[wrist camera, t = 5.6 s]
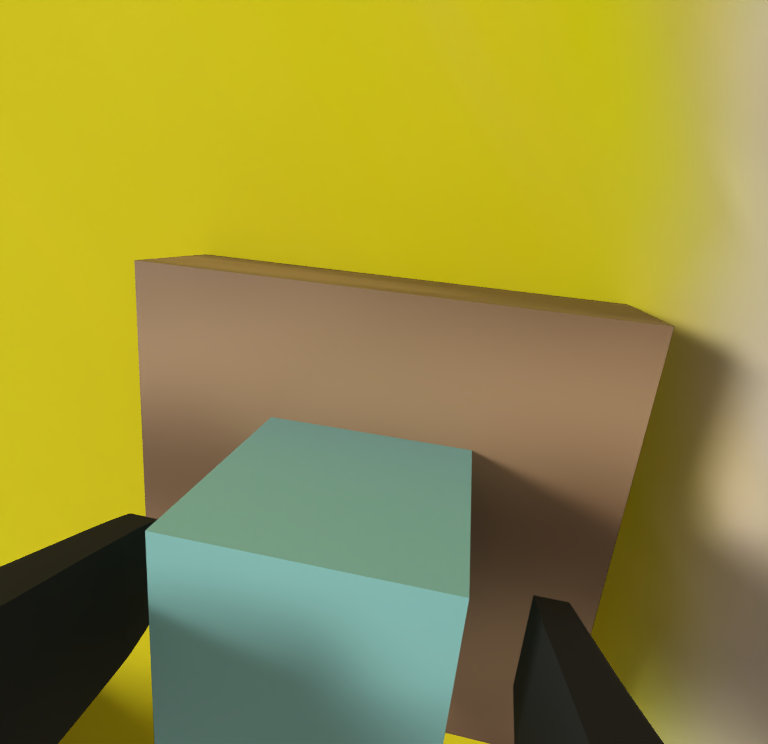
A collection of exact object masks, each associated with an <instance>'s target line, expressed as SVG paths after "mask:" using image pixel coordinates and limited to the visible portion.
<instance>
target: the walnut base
mask: <svg viewBox="0 0 768 744" xmlns="http://www.w3.org/2000/svg"><path fill="white" fill-rule="evenodd" d="M135 281H136V304H137V326H138V349H139V371H140V394H141V416H142V439H143V461H144V484H145V506H146V517H150V518H155V519H159V518H160V517H161V516H162V515H163V514H164V513H165V512H166V511H168V510H169V509H170V508H171V507H172V506H173V505H174V504H175V503H176V502H178V501H179V500H180V499H181V498H182V497H183V496H184V495H185V494H186V493H188V492H189V491H190V490H191V489H192V488H193V487H194V486H195V485H196V484H198V483H199V482H200V481H201V480H202V479H203V478H204V477H205V476H206V475H207V474H209V473H210V472H211V471H212V470H213V469H214V468H215V467H216V466H217V465H219V464H220V463H221V462H222V461H223V460H224V459H225V458H226V457H227V456H229V455H230V454H231V453H232V452H233V451H234V450H235V449H236V448H237V447H239V446H240V445H241V444H242V443H243V442H244V441H245V440H246V439H247V438H249V437H250V436H251V435H252V434H253V433H254V432H255V431H256V430H257V429H259V428H260V427H261V426H262V425H263V424H264V423H265V422H266V421H267V420H268V419H270V418H271V417H274V418H280V419H286V420H292V421H298V422H305V423H311V424H317V425H323V426H329V427H335V428H341V429H347V430H353V431H359V432H365V433H371V434H377V435H383V436H389V437H395V438H401V439H407V440H413V441H419V442H425V443H431V444H437V445H443V446H449V447H455V448H461V449H467V450H472V475H471V532H470V588H469V603H468V608H467V614H466V619H465V625H464V630H463V636H462V641H461V647H460V652H459V658H458V663H457V669H456V675H455V680H454V686H453V691H452V697H451V702H450V708H449V713H448V719H447V724H446V730H445V733H449V734H453V735H458V736H462V737H466V738H470V739H474V740H478V741H482V742H486V743H490V744H514V710H513V684H514V679H515V675H516V670H517V666H518V662H519V657H520V653H521V648H522V644H523V639H524V635H525V630H526V626H527V621H528V617H529V612H530V608H531V603H532V599H533V595H535V596H540V597H545V598H550V599H555V600H560V601H565V602H569V603H570V604H571V606H572V607H573V608H574V610H575V611H576V613H577V614H578V616H579V618H580V619H581V621H582V622H583V624H584V625H585V627H586V629H587V630H588V632H589V633H590V635H591V631H592V628H593V624H594V620H595V617H596V613H597V609H598V606H599V602H600V598H601V594H602V591H603V587H604V583H605V580H606V576H607V572H608V569H609V565H610V561H611V558H612V554H613V550H614V547H615V543H616V539H617V536H618V532H619V528H620V524H621V521H622V517H623V513H624V510H625V506H626V502H627V499H628V495H629V491H630V488H631V484H632V480H633V477H634V473H635V469H636V465H637V462H638V458H639V454H640V451H641V447H642V443H643V440H644V436H645V432H646V429H647V425H648V421H649V418H650V414H651V410H652V406H653V403H654V399H655V395H656V392H657V388H658V384H659V381H660V377H661V373H662V370H663V366H664V362H665V359H666V355H667V351H668V348H669V344H670V340H671V336H672V333H673V329H674V326H672V325H669V324H667V323H665V322H663V321H661V320H659V319H657V318H655V317H653V316H651V315H648V314H646V313H644V312H642V311H640V310H638V309H636V308H634V307H632V306H629V305H627V304H619V303H611V302H602V301H594V300H585V299H577V298H568V297H560V296H552V295H543V294H535V293H526V292H518V291H509V290H501V289H492V288H484V287H476V286H467V285H459V284H450V283H442V282H433V281H425V280H417V279H408V278H400V277H391V276H383V275H374V274H366V273H358V272H349V271H341V270H332V269H324V268H315V267H307V266H299V265H290V264H282V263H273V262H265V261H256V260H248V259H239V258H231V257H223V256H214V255H194V256H182V257H169V258H157V259H145V260H135Z"/></svg>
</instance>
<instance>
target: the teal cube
mask: <svg viewBox="0 0 768 744" xmlns="http://www.w3.org/2000/svg"><path fill="white" fill-rule="evenodd" d="M471 475H472V450H467V449H461V448H455V447H449V446H443V445H437V444H431V443H425V442H419V441H413V440H407V439H401V438H395V437H389V436H383V435H377V434H371V433H365V432H359V431H353V430H347V429H341V428H335V427H329V426H323V425H317V424H311V423H305V422H298V421H292V420H286V419H280V418H274V417H271V418H270V419H268V420H267V421H266V422H265V423H264V424H263V425H262V426H261V427H260V428H259V429H257V430H256V431H255V432H254V433H253V434H252V435H251V436H250V437H249V438H247V439H246V440H245V441H244V442H243V443H242V444H241V445H240V446H239V447H237V448H236V449H235V450H234V451H233V452H232V453H231V454H230V455H229V456H227V457H226V458H225V459H224V460H223V461H222V462H221V463H220V464H219V465H217V466H216V467H215V468H214V469H213V470H212V471H211V472H210V473H209V474H207V475H206V476H205V477H204V478H203V479H202V480H201V481H200V482H199V483H198V484H196V485H195V486H194V487H193V488H192V489H191V490H190V491H189V492H188V493H186V494H185V495H184V496H183V497H182V498H181V499H180V500H179V501H178V502H176V503H175V504H174V505H173V506H172V507H171V508H170V509H169V510H168V511H166V512H165V513H164V514H163V515H162V516H161V517H160V518H159V519H158V520H156V521H155V522H154V523H153V524H152V525H151V526H150V527H149V528H148V529H146V530H145V539H146V562H147V584H148V607H149V630H150V652H151V675H152V697H153V720H154V743H155V744H443V741H444V735H445V730H446V724H447V719H448V713H449V708H450V702H451V697H452V691H453V686H454V680H455V675H456V669H457V663H458V658H459V652H460V647H461V641H462V636H463V630H464V625H465V619H466V614H467V608H468V603H469V588H470V532H471Z"/></svg>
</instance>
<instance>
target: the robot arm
mask: <svg viewBox="0 0 768 744" xmlns="http://www.w3.org/2000/svg"><path fill="white" fill-rule="evenodd" d="M156 520H158V519H155V518H150V517H145V516H140V515H135V514H127V515H124V516H121V517H118V518H116V519H113V520H110V521H108V522H105V523H103V524H100V525H98V526H95V527H93V528H91V529H88V530H86V531H83V532H81V533H79V534H76V535H74V536H72V537H69V538H67V539H65V540H62V541H60V542H58V543H55V544H53V545H51V546H48V547H46V548H44V549H41V550H39V551H36V552H34V553H32V554H29V555H27V556H25V557H22V558H20V559H18V560H15V561H13V562H11V563H8V564H6V565H3V566H1V567H0V744H58V743H59V742H60V741H61V739H62V738H63V737H64V736H65V734H66V733H67V732H68V731H69V729H70V728H71V727H72V726H73V725H74V723H75V722H76V721H77V720H78V718H79V717H80V716H81V715H82V714H83V712H84V711H85V710H86V709H87V707H88V706H89V705H90V704H91V703H92V701H93V700H94V699H95V698H96V696H97V695H98V694H99V693H100V691H101V690H102V689H103V688H104V686H105V685H106V684H107V683H108V681H109V680H110V679H111V678H112V676H113V675H114V674H115V673H116V671H117V670H118V669H119V668H120V666H121V665H122V664H123V663H124V661H125V660H126V659H127V657H128V656H129V655H130V653H131V652H132V650H133V649H134V647H135V646H136V644H137V643H138V641H139V640H140V638H141V637H142V635H143V634H144V632H145V630H146V629H147V627H148V625H149V607H148V584H147V562H146V539H145V530H146V529H148V528H149V527H150V526H151V525H152V524H153V523H154V522H155V521H156ZM513 710H514V744H664V743H663V742H662V740H661V739H660V737H659V736H658V735H657V733H656V732H655V730H654V729H653V728H652V726H651V725H650V723H649V722H648V720H647V719H646V718H645V716H644V715H643V713H642V712H641V710H640V709H639V707H638V706H637V705H636V703H635V702H634V700H633V699H632V697H631V696H630V695H629V693H628V692H627V690H626V689H625V687H624V686H623V684H622V683H621V681H620V680H619V678H618V677H617V675H616V674H615V672H614V671H613V669H612V668H611V666H610V665H609V663H608V661H607V660H606V658H605V657H604V655H603V654H602V652H601V651H600V649H599V648H598V646H597V644H596V643H595V641H594V640H593V638H592V637H591V635H590V633H589V632H588V630H587V629H586V627H585V625H584V624H583V622H582V621H581V619H580V618H579V616H578V614H577V613H576V611H575V610H574V608H573V607H572V606H571V604H570V603H569V602H565V601H560V600H555V599H550V598H545V597H540V596H535V595H533V599H532V603H531V608H530V612H529V617H528V621H527V626H526V630H525V635H524V639H523V644H522V648H521V653H520V657H519V662H518V666H517V670H516V675H515V679H514V684H513Z"/></svg>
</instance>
